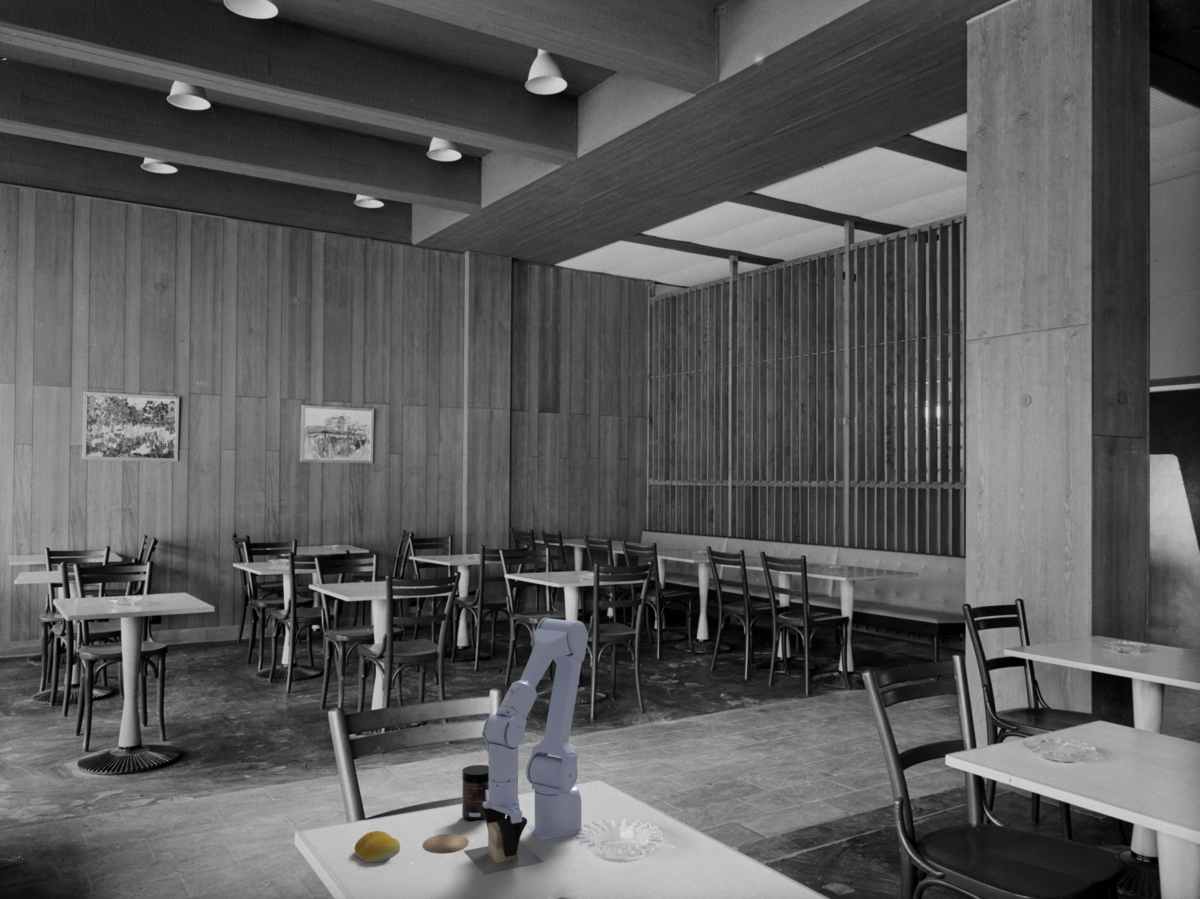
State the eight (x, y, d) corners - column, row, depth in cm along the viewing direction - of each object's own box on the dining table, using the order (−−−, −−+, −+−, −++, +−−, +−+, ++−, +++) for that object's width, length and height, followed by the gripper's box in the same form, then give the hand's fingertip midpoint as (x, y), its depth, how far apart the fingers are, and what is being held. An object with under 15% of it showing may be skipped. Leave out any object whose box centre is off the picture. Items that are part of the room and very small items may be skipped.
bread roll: (370, 868, 174) (370, 847, 174) (349, 853, 181) (349, 833, 181) (408, 856, 179) (408, 835, 180) (386, 842, 186) (387, 822, 186)
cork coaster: (460, 834, 190) (460, 831, 190) (474, 850, 182) (474, 846, 182) (417, 842, 185) (417, 838, 185) (430, 859, 177) (430, 855, 177)
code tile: (520, 842, 186) (520, 839, 186) (543, 864, 175) (543, 861, 175) (463, 853, 180) (463, 850, 180) (484, 877, 169) (484, 874, 169)
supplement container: (494, 811, 203) (494, 764, 203) (492, 823, 196) (492, 774, 196) (463, 812, 202) (463, 765, 203) (460, 824, 196) (460, 775, 196)
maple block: (509, 849, 180) (509, 819, 181) (518, 858, 176) (518, 826, 177) (488, 854, 178) (488, 823, 179) (496, 862, 174) (496, 831, 175)
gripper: (471, 770, 183) (471, 838, 182) (497, 792, 170) (497, 866, 169) (504, 765, 186) (504, 832, 185) (532, 786, 173) (532, 859, 172)
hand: (503, 848), depth 177 cm, fingers open, 7 cm apart
